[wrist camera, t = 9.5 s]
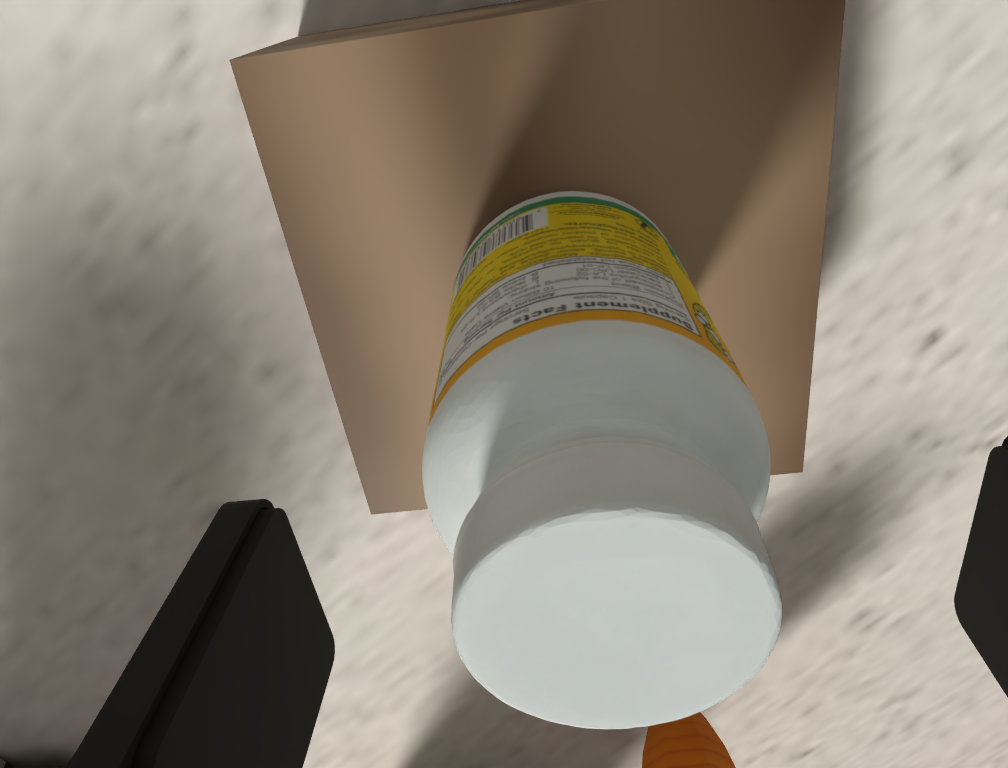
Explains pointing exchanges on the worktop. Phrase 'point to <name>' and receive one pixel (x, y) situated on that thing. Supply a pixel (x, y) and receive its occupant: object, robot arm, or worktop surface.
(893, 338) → the worktop surface
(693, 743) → the carrot
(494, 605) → the supplement bottle
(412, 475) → the brown cardboard box
